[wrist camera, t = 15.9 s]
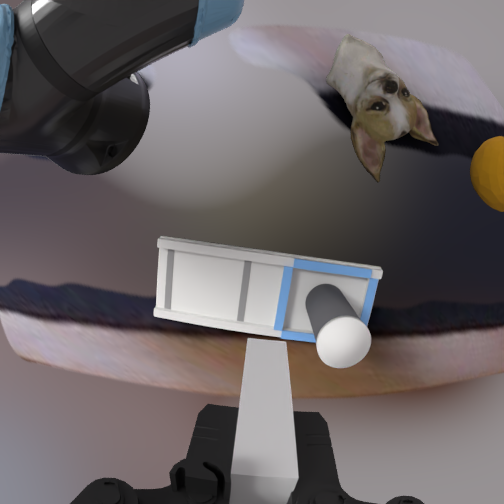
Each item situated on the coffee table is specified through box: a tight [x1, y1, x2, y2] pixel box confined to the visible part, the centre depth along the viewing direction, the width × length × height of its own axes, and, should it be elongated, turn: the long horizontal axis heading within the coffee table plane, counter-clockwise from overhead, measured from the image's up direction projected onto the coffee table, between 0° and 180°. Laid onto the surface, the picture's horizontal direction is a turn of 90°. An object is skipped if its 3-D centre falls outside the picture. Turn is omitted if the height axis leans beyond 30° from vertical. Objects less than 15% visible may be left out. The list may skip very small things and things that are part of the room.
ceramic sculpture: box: [326, 34, 438, 182], centre depth 28 cm, size 11×9×15 cm
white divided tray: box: [154, 236, 383, 342], centre depth 36 cm, size 10×26×2 cm, turn 83°
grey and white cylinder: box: [305, 284, 371, 368], centre depth 31 cm, size 5×5×11 cm
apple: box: [470, 136, 504, 212], centre depth 28 cm, size 9×9×9 cm
